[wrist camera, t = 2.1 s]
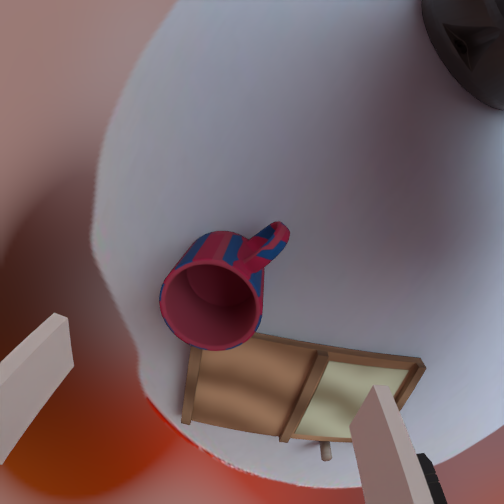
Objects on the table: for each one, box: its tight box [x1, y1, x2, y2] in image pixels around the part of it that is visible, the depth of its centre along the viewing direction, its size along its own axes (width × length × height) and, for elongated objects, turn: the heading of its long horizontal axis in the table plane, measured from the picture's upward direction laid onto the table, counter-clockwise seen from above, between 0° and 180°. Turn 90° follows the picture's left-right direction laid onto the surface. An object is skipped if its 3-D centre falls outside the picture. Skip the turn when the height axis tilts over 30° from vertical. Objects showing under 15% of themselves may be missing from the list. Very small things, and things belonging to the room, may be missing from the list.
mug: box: [159, 221, 290, 351], centre depth 22 cm, size 7×10×7 cm
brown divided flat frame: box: [181, 332, 426, 461], centre depth 29 cm, size 15×23×3 cm, turn 78°
